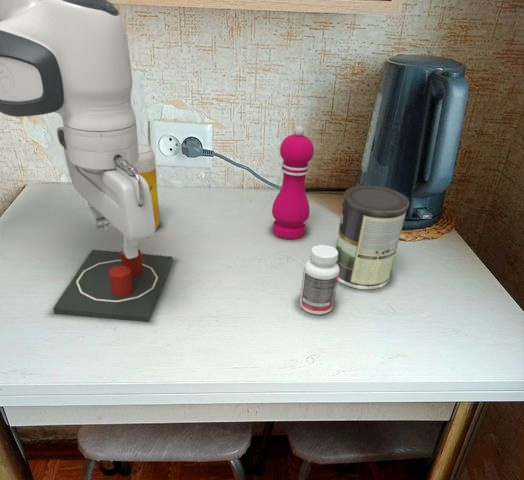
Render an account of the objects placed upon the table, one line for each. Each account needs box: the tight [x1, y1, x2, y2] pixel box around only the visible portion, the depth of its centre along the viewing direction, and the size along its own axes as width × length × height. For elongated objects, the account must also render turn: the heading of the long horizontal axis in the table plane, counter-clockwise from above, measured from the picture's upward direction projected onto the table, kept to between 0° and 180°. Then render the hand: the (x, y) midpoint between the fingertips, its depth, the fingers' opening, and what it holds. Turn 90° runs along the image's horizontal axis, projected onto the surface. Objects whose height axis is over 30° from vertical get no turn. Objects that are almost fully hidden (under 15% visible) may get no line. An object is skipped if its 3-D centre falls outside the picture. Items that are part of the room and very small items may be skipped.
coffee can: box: [335, 184, 410, 291], centre depth 85 cm, size 10×10×14 cm
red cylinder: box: [119, 248, 143, 276], centre depth 83 cm, size 3×3×4 cm
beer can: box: [133, 142, 161, 231], centre depth 94 cm, size 6×6×15 cm
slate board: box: [52, 249, 174, 323], centre depth 82 cm, size 14×18×1 cm
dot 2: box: [109, 266, 133, 297], centre depth 78 cm, size 3×3×4 cm
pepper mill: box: [271, 125, 315, 240], centre depth 94 cm, size 7×7×20 cm
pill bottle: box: [299, 244, 340, 315], centre depth 78 cm, size 5×5×10 cm
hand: (116, 242), depth 74 cm, fingers open, 8 cm apart
